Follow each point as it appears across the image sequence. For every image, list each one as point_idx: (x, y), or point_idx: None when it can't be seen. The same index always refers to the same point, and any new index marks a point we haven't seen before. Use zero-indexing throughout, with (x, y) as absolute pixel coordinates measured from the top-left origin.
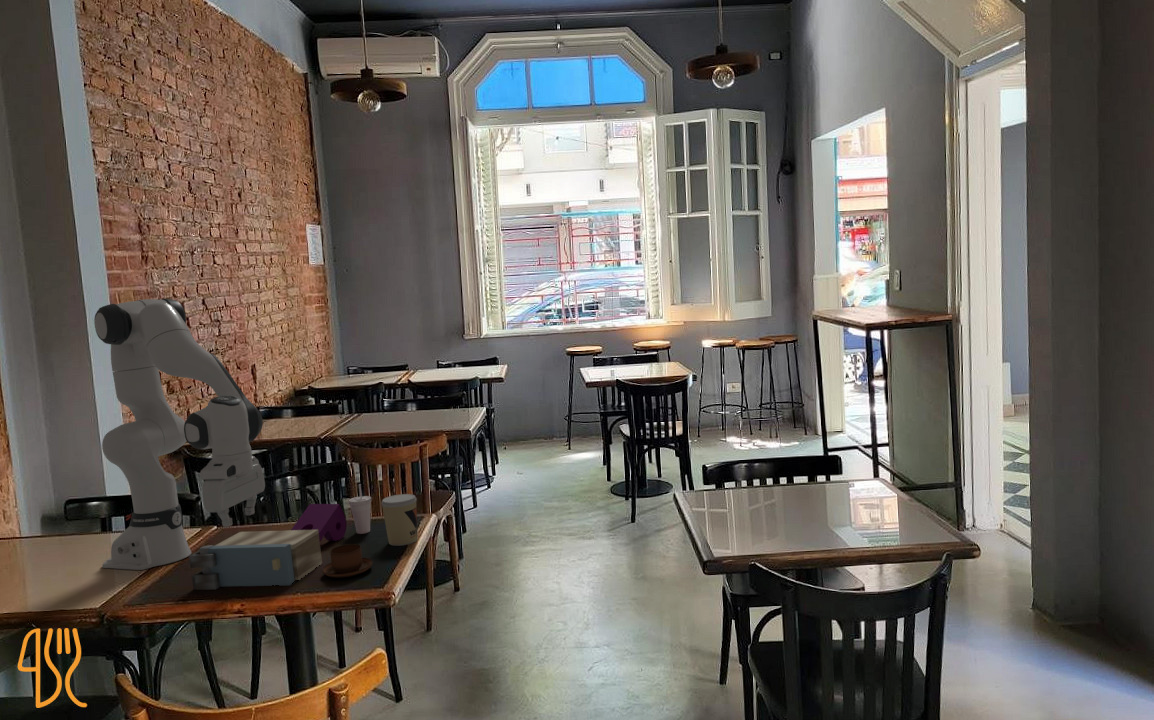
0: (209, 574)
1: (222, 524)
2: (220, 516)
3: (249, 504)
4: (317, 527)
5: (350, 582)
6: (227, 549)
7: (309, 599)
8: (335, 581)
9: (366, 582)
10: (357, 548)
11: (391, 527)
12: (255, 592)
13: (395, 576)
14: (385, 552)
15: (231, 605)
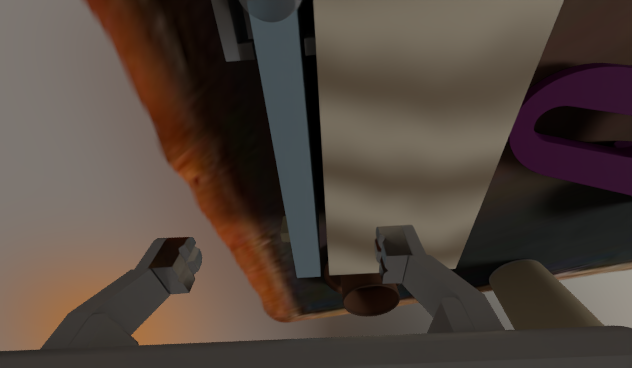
0: (249, 22)
1: (151, 245)
2: (103, 297)
3: (420, 283)
4: (616, 172)
5: (318, 281)
6: (269, 117)
7: (246, 264)
8: (322, 264)
9: (318, 296)
10: (392, 299)
11: (512, 303)
12: (256, 168)
13: (340, 313)
14: (457, 272)
15: (182, 163)
